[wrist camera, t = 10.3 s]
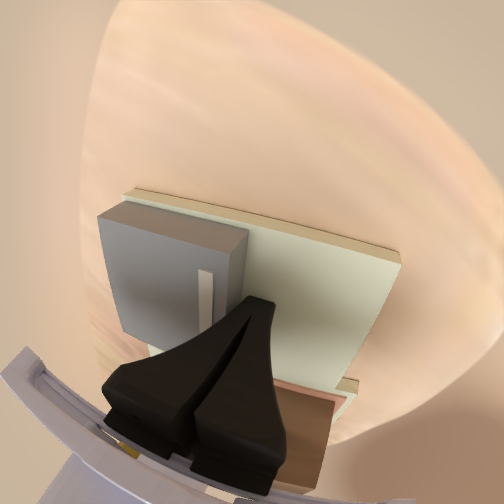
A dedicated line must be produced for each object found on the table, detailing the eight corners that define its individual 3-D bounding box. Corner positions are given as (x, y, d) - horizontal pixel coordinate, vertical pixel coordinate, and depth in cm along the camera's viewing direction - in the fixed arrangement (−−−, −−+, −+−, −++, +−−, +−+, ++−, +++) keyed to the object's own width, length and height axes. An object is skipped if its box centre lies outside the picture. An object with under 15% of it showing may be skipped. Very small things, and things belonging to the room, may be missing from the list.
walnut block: (316, 425, 17) (295, 497, 12) (264, 411, 18) (235, 481, 13) (335, 401, 15) (315, 488, 10) (274, 385, 16) (240, 470, 11)
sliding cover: (235, 348, 15) (221, 376, 13) (141, 311, 17) (122, 332, 15) (248, 230, 11) (228, 255, 9) (125, 200, 13) (95, 217, 11)
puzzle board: (330, 417, 18) (328, 430, 17) (159, 359, 21) (152, 369, 20) (428, 261, 10) (433, 276, 9) (134, 188, 13) (119, 196, 12)
